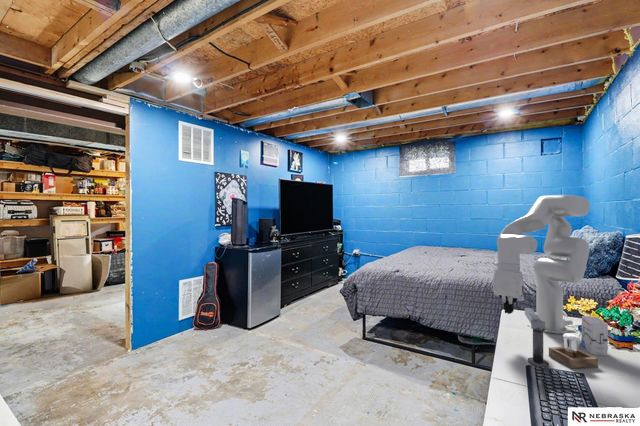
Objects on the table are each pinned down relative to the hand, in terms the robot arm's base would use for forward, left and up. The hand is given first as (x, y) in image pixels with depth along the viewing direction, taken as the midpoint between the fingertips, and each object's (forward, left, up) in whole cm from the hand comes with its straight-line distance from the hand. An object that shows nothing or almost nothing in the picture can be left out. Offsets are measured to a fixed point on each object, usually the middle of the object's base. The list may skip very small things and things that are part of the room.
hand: (508, 312), depth 121 cm
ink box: (-27, +9, -12) cm, 31 cm away
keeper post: (+2, +16, -12) cm, 20 cm away
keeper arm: (-2, +10, 0) cm, 10 cm away
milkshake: (-11, +16, -12) cm, 23 cm away
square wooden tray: (-11, +16, -12) cm, 23 cm away
